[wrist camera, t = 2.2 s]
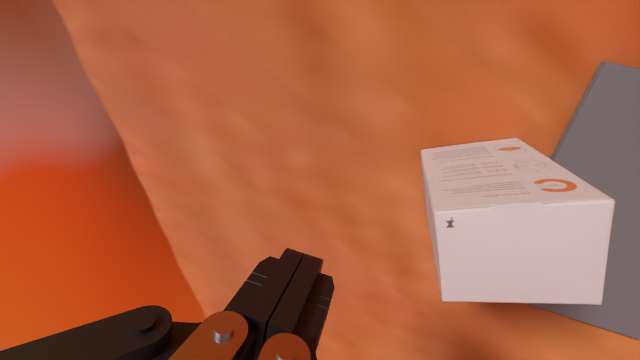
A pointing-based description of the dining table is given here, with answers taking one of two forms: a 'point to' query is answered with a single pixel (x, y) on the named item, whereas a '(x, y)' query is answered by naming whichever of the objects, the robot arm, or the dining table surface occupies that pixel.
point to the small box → (514, 226)
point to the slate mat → (609, 189)
